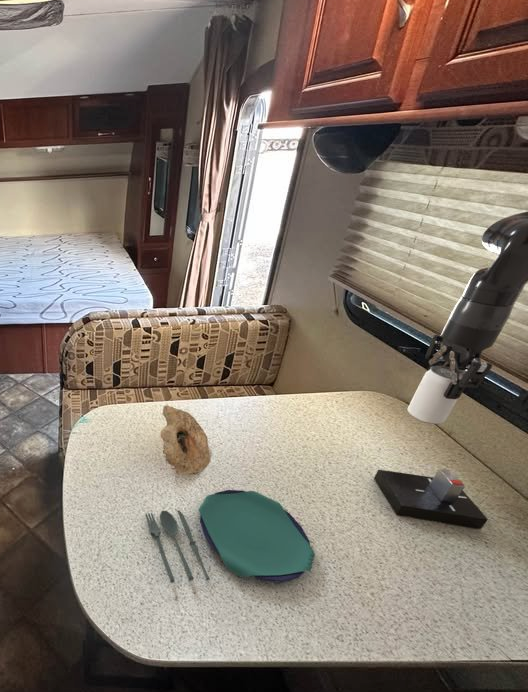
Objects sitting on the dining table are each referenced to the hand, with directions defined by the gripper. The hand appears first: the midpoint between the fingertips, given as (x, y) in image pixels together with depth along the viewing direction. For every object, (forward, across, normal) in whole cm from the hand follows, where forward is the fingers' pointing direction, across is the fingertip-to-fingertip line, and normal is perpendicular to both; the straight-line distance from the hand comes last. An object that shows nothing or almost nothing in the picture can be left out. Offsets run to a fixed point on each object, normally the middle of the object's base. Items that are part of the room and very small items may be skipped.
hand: (439, 388), depth 82 cm
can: (+8, 0, 0) cm, 8 cm away
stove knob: (+17, -15, +1) cm, 23 cm away
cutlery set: (+20, -34, +45) cm, 60 cm away
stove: (+20, -15, +3) cm, 25 cm away
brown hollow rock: (+20, -11, +52) cm, 57 cm away
